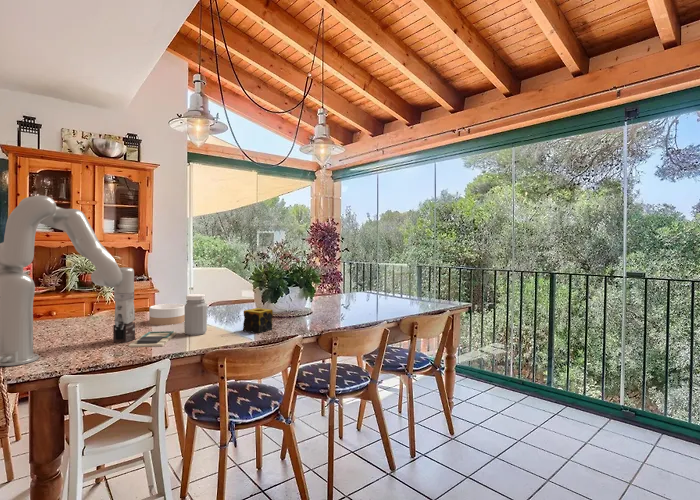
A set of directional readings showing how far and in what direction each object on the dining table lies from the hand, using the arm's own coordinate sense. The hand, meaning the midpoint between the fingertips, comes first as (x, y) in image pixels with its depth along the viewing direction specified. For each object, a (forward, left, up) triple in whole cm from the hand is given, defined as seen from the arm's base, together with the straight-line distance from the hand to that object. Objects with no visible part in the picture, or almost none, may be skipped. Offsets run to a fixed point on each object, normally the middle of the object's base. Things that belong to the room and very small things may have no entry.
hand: (124, 336), depth 178 cm
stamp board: (0, -12, -2) cm, 12 cm away
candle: (+15, -55, -2) cm, 57 cm away
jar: (+11, -27, -2) cm, 29 cm away
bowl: (+40, -7, -2) cm, 41 cm away
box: (0, 0, -2) cm, 2 cm away
